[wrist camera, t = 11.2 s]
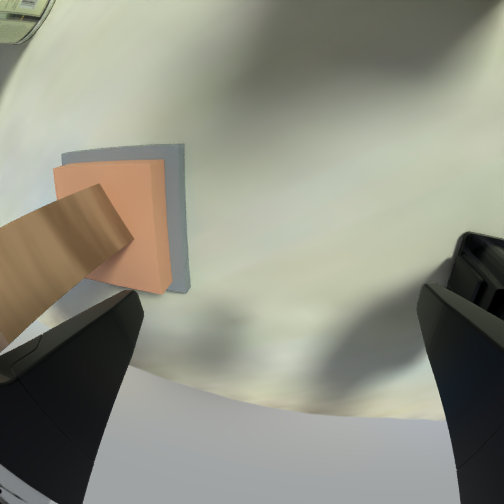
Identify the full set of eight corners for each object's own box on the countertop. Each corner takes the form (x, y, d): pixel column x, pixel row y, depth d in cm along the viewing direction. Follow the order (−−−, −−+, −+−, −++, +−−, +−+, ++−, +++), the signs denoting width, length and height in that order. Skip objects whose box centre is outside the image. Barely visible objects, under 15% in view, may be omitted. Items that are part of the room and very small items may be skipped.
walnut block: (99, 183, 19) (-44, 253, 8) (134, 238, 20) (9, 344, 9) (67, 216, 21) (-50, 287, 10) (98, 265, 22) (-6, 357, 11)
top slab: (164, 159, 19) (150, 163, 18) (172, 281, 24) (162, 294, 22) (68, 163, 21) (53, 168, 19) (84, 265, 25) (72, 274, 23)
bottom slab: (189, 142, 21) (178, 145, 19) (194, 281, 26) (186, 293, 24) (75, 150, 22) (61, 154, 21) (91, 264, 28) (80, 273, 26)
